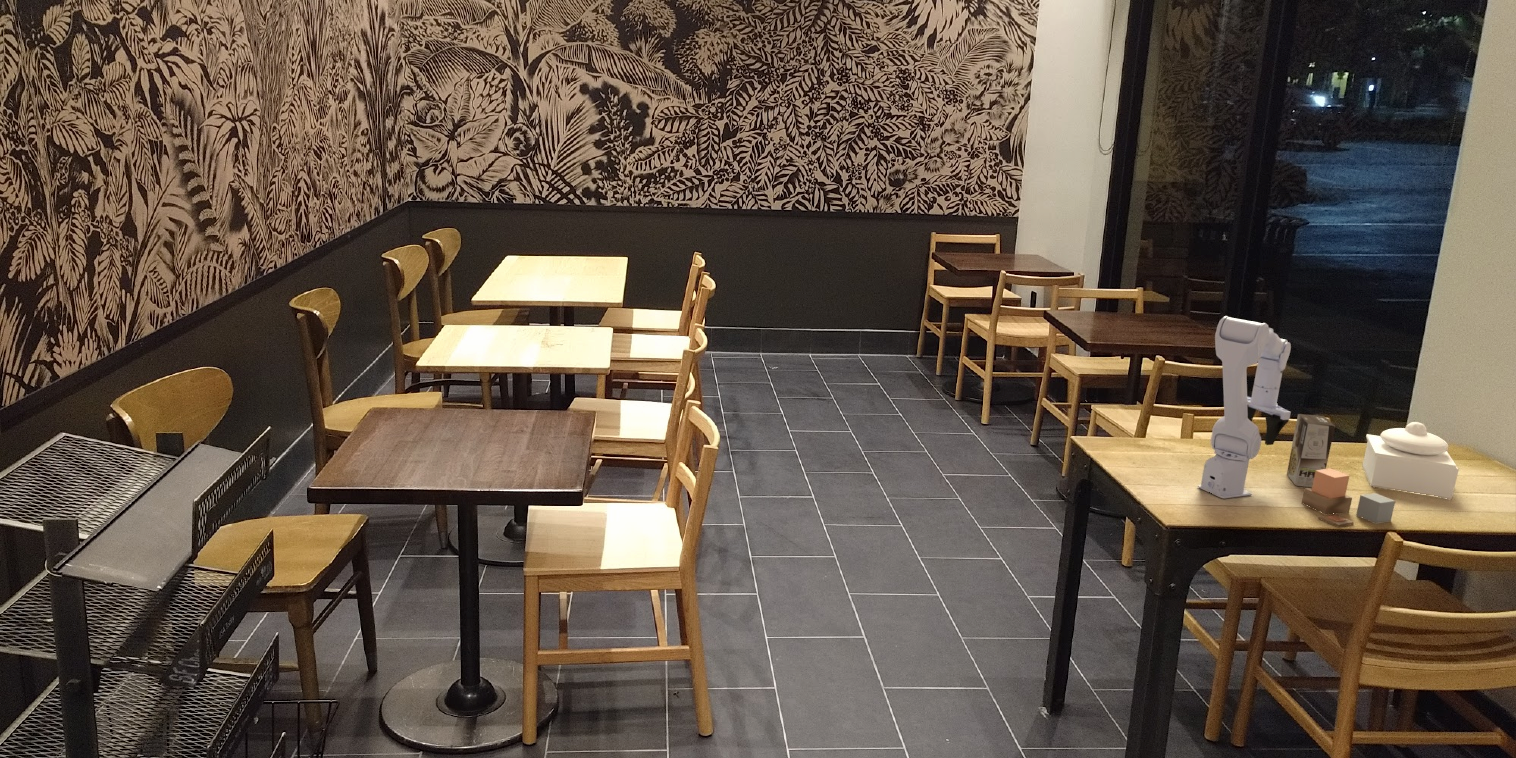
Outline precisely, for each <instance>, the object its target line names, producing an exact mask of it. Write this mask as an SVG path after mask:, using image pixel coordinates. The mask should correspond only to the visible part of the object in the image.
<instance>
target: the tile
mask: <svg viewBox="0 0 1516 758" xmlns="http://www.w3.org/2000/svg"><path fill="white" fill-rule="evenodd" d="M1319 518H1320V519H1319ZM1318 519H1319V520H1321V519H1322V520H1321V521H1323V520H1324V522H1325V521H1326V522H1325V523H1328V524H1330V525H1332V526H1334V527H1337V528H1341V527H1346V526H1348V527H1349V526H1354V523H1355V522H1354V521H1353V520H1350V519H1348V518H1345V517H1343V516H1341V515H1340V514H1327V515H1324V514H1323V515H1319V516H1318Z"/></svg>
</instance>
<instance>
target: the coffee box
mask: <svg viewBox="0 0 1516 758" xmlns="http://www.w3.org/2000/svg"><path fill="white" fill-rule="evenodd" d="M1295 423H1296V424H1295V429H1294V434H1293V439H1292V443H1291V449H1290V455H1289V459H1288V460H1289V461H1288V466H1287V470H1286V475H1287V477H1288V478H1289V479H1290V481H1292V483H1293V484H1294V485H1295V486H1299V487H1304V488H1312V486H1313V481H1314V476H1315V471H1316V470H1322V469H1327V465H1328V461H1329V455H1330V452H1331V451H1330V450H1331V446H1332V442H1333V437H1334V432H1335V428H1336V425H1335V424H1334V423H1332V421H1331V420H1329V419H1328V418H1327V417H1326V416H1324V415H1317V414H1315V415H1314V414H1302V413H1298V414H1297V418H1296V422H1295Z"/></svg>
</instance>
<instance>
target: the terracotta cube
mask: <svg viewBox="0 0 1516 758" xmlns="http://www.w3.org/2000/svg"><path fill="white" fill-rule="evenodd" d="M1349 480H1350V475H1349V474H1347V473H1343V472H1341V471H1338V470H1336V469H1333V468H1326V469H1322V470H1316V471H1315V476H1314V481H1313V486H1312V487H1311V488H1312V491H1313V492H1316V493H1318V494H1321V495H1323V496H1326V497H1328V498H1336V497H1342V496H1345V495H1347V488H1348V484H1349Z"/></svg>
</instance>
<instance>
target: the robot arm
mask: <svg viewBox="0 0 1516 758" xmlns="http://www.w3.org/2000/svg"><path fill="white" fill-rule="evenodd" d="M1216 326H1217V327H1216V331H1215V335H1214V344H1215V345H1214V346H1215V354H1216V357H1217V358H1218V359H1220V361H1221V362H1222V363H1221V366H1222V385H1223V386H1222V388H1223V409H1224V411H1223V412H1224V414H1223V416H1220V417H1219V418H1218V419H1217V421H1215V423H1214V425H1213V427H1212V430H1211V431H1212V433H1211V437H1210V446H1211V448H1212V449H1213V450H1214V451H1213V453H1214V454H1215V455H1214V456H1212V457H1209V458H1208V459H1207V460H1206V461H1205V463H1204V465H1203V471H1202V477H1201V482H1200V484H1198V485H1197V488H1198V487H1199V489H1200V490H1203V491H1206V492H1207V493H1209V492H1210V493H1209V494H1211V493H1212V495H1214V496H1217V497H1218V498H1220V499H1232V498H1238V497H1244V496H1245V497H1246V496H1251V495H1252V492H1250V491H1248V490H1247V489H1245V485H1246V480H1247V474H1248V469H1249V463H1250V460H1253V459H1254V458H1256V457H1257V456H1258V454H1259V452H1260V449H1261V444H1262V437H1261V434H1260V430H1259V426H1258V425H1256V424H1255V423H1254V422H1253V419H1254V417H1255V414H1256V412H1257V410H1258V411H1260V412H1263V413H1266V414H1268V415H1270V416H1265V423H1266V424H1265V425H1266V430H1265V431H1266V433H1265V439H1264V443H1265V445H1266V446H1271V445H1274V443H1275V442H1276V440H1277V438H1278V435H1279V433H1280V432H1281V431H1282V429H1283V428H1284V427H1285V426H1286V425H1287V424H1288V423H1289V420H1290V419H1291V414H1292V413H1291V411H1289V410H1288V409H1285V408H1283V407H1282V406H1280V405H1278V403H1277V402H1278V399H1279V398H1278V397H1279V394H1280V393H1279V392H1280V387H1281V381H1282V377H1283V372H1284V370H1286V367H1287V361H1288V360H1289V356H1290V355H1291V354H1290V353H1291V348H1292V346H1291V342H1288V339H1283V338H1280V337H1279V335H1278V334H1277V333H1276V332H1274V328H1271V327H1269V324H1267V323H1266V322H1263V323H1261V322H1258V321H1251V320H1246V319H1240V318H1236V317H1235V318H1234V317H1231V316H1228V315H1225V316H1223V317H1222V318H1221V319H1219V322H1218V324H1217V325H1216ZM1256 364H1257V366H1256V371H1255V376H1254V377H1255V378H1254V382H1253V387H1252V392H1251V396H1248V384H1247V383H1248V382H1247V381H1248V380H1247V373H1248V372H1247V369H1248V367H1250V366H1253V365H1256Z"/></svg>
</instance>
